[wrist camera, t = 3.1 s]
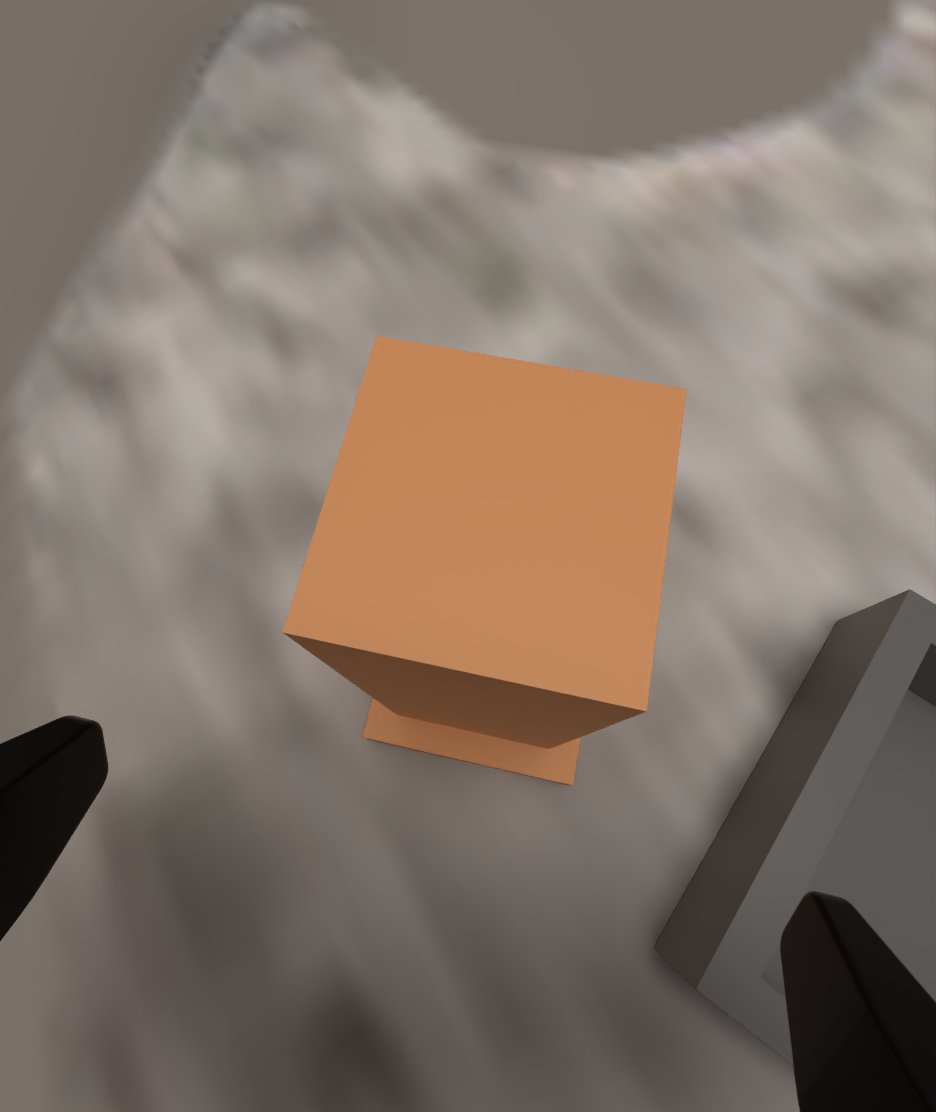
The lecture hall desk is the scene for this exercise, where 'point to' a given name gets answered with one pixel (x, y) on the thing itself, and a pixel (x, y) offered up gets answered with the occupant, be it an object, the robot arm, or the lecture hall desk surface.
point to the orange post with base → (493, 554)
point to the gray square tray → (826, 821)
